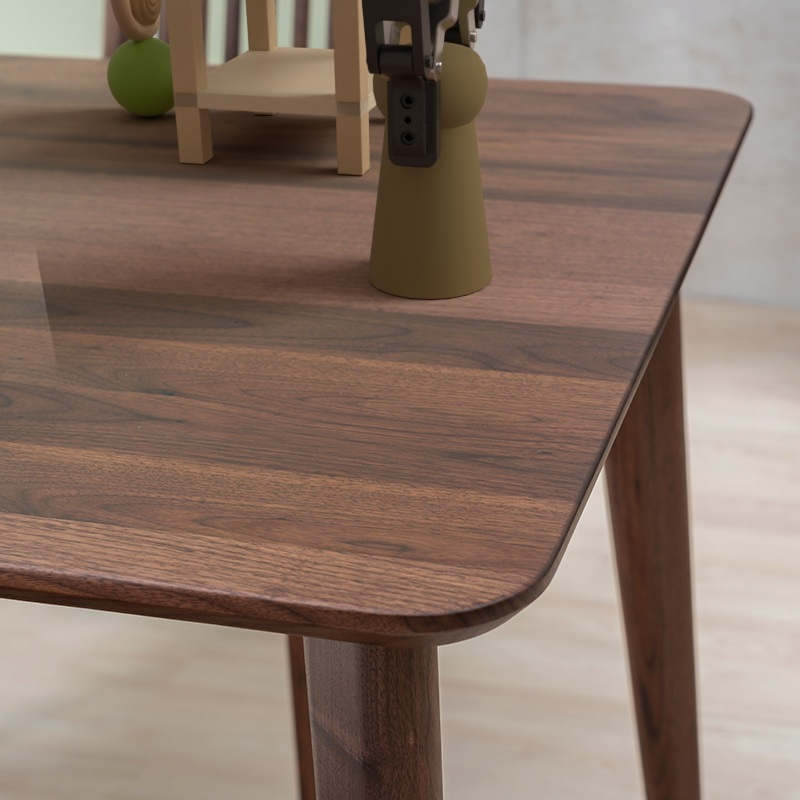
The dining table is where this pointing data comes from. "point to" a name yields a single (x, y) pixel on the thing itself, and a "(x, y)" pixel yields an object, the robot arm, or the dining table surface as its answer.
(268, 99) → the rack
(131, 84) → the snail figurine
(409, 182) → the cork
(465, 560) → the dining table surface
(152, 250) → the dining table surface
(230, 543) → the dining table surface
